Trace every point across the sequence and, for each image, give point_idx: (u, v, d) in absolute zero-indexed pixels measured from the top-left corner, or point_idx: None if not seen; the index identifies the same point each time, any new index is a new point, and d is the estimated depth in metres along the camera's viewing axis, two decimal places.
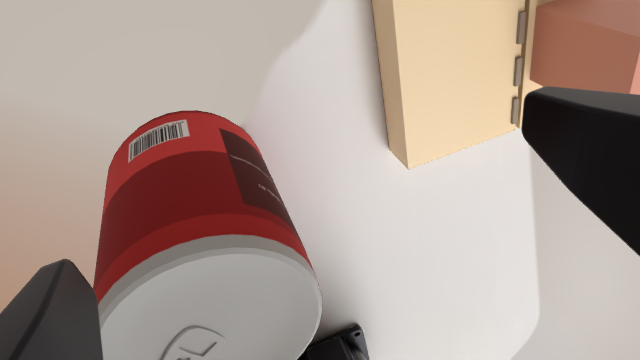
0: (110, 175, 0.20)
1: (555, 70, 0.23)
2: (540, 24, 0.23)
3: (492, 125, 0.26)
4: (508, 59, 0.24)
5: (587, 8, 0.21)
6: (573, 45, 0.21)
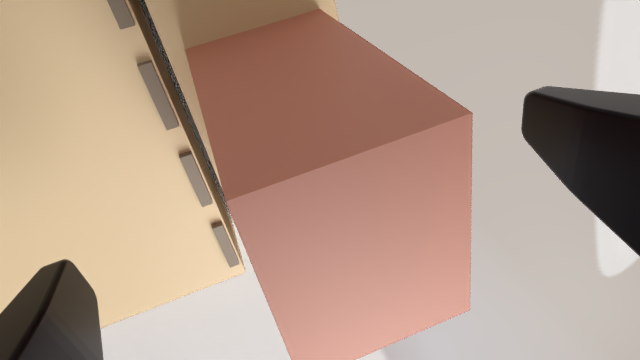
0: None
1: None
2: None
3: (186, 271, 0.13)
4: (162, 158, 0.11)
5: (253, 61, 0.08)
6: None
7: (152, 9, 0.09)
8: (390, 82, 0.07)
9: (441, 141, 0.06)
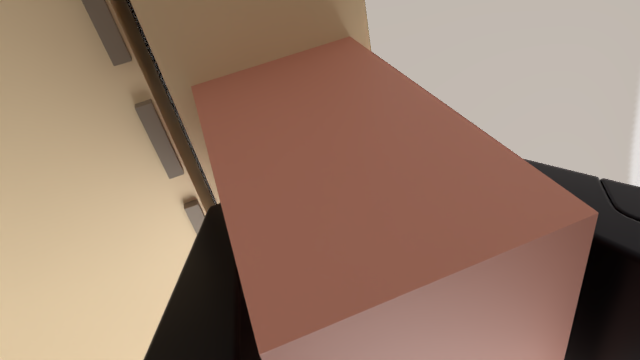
0: None
1: None
2: None
3: None
4: (164, 209, 0.09)
5: (277, 107, 0.07)
6: None
7: (152, 41, 0.08)
8: (464, 151, 0.05)
9: (551, 250, 0.04)
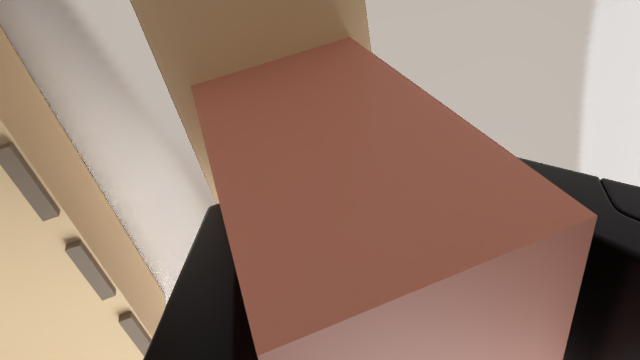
0: None
1: None
2: None
3: None
4: (45, 250, 0.09)
5: (276, 108, 0.07)
6: None
7: (152, 40, 0.08)
8: (463, 153, 0.05)
9: (550, 252, 0.04)
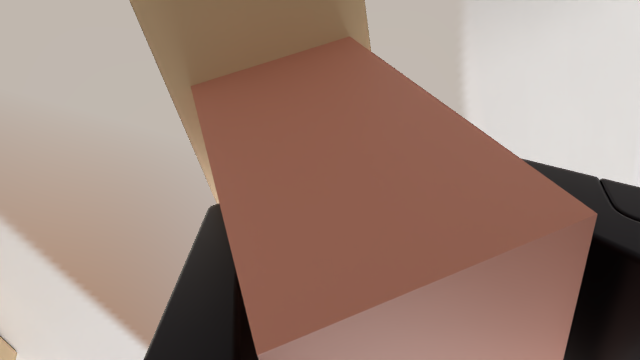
0: None
1: None
2: None
3: None
4: None
5: (276, 107, 0.07)
6: None
7: (152, 40, 0.08)
8: (463, 152, 0.05)
9: (549, 250, 0.04)
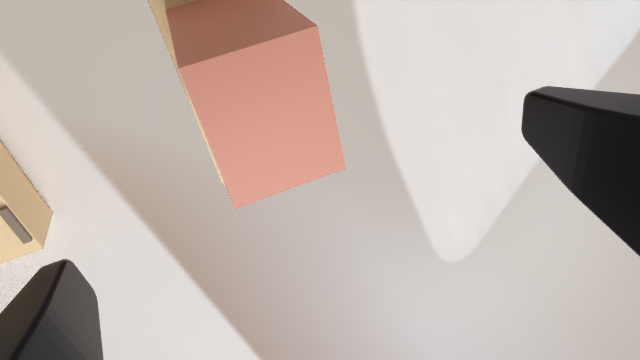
0: None
1: None
2: None
3: None
4: None
5: (208, 12, 0.13)
6: None
7: None
8: (283, 16, 0.11)
9: (300, 41, 0.10)
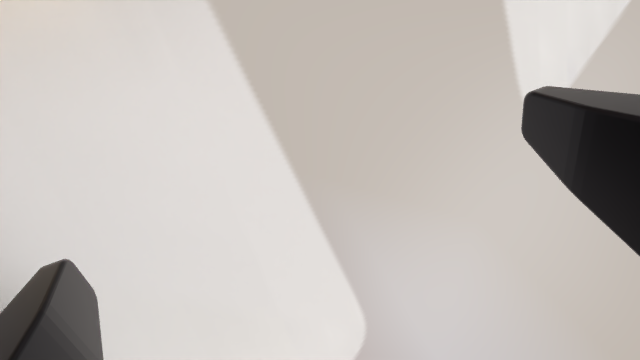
0: None
1: None
2: None
3: None
4: None
5: None
6: None
7: None
8: None
9: None
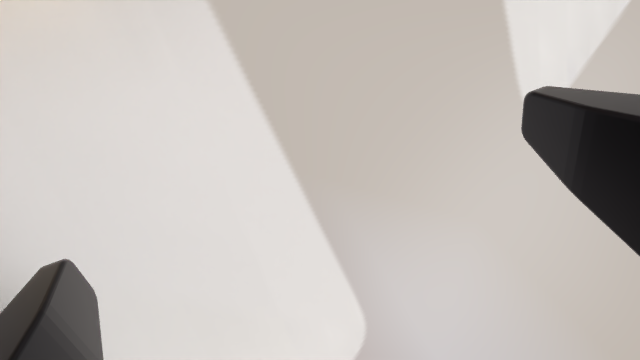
0: None
1: None
2: None
3: None
4: None
5: None
6: None
7: None
8: None
9: None
